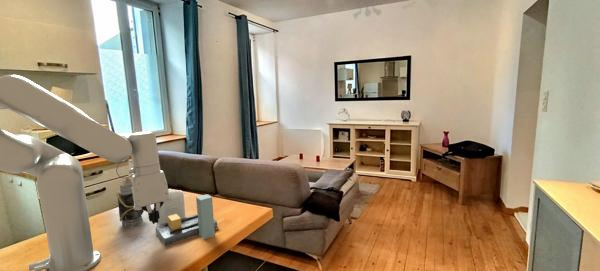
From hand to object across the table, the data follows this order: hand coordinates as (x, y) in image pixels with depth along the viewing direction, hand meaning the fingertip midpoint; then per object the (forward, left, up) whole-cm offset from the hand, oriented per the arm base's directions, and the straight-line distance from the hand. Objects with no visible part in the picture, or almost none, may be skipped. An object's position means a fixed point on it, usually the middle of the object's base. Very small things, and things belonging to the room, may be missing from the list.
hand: (154, 221), depth 93 cm
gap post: (+14, -8, -7) cm, 18 cm away
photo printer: (+8, +12, -7) cm, 16 cm away
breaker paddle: (+6, 0, -4) cm, 7 cm away
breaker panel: (+10, 0, -7) cm, 12 cm away
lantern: (-4, +21, -7) cm, 22 cm away
